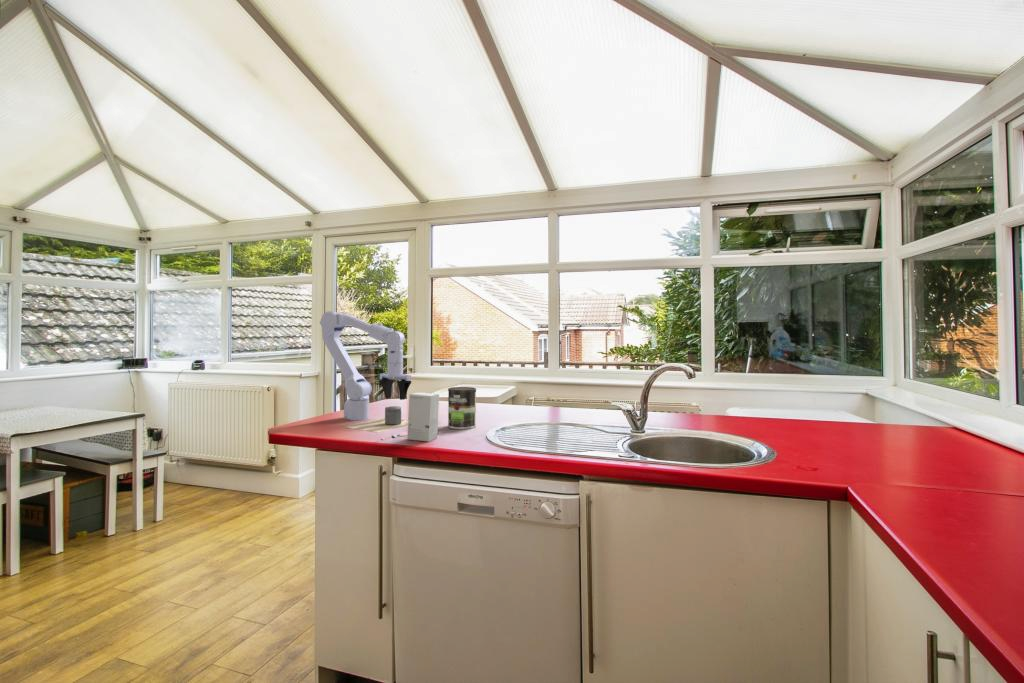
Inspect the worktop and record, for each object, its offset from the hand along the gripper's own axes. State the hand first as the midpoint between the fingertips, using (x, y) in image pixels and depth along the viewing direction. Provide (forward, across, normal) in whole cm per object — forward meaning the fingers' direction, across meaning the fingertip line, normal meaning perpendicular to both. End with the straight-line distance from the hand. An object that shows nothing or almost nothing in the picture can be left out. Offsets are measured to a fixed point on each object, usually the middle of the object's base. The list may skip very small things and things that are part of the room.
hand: (395, 398), depth 180 cm
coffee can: (+10, +25, +9) cm, 28 cm away
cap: (+7, +6, -7) cm, 12 cm away
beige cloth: (+9, +3, -10) cm, 14 cm away
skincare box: (+10, +27, -14) cm, 32 cm away
